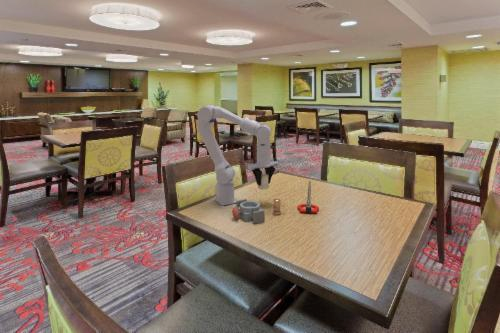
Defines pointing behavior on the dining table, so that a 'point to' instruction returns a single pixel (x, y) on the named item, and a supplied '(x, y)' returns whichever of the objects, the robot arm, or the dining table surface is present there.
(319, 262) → the dining table surface
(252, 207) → the valve
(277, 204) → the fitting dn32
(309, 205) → the tow hook
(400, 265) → the dining table surface
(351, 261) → the dining table surface
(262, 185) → the cylinder
